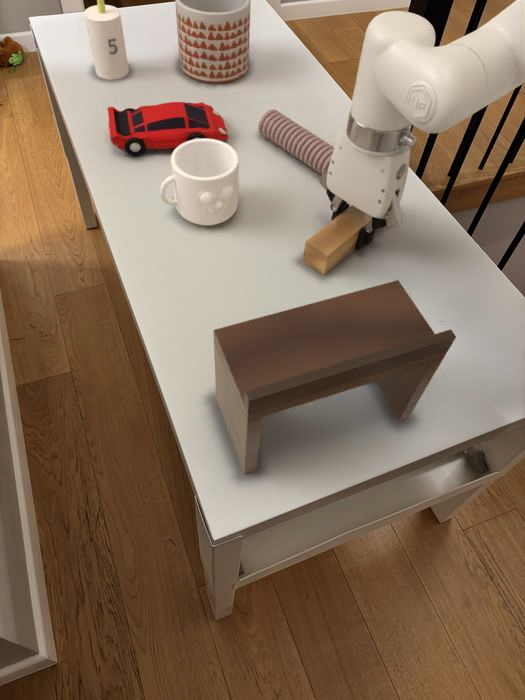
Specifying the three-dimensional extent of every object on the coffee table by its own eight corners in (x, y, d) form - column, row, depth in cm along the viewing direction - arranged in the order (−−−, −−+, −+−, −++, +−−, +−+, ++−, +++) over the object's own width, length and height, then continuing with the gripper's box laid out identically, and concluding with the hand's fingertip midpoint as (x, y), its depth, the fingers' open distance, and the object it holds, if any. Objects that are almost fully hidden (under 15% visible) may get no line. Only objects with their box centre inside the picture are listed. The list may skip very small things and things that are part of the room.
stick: (393, 215, 85) (400, 195, 82) (323, 275, 77) (327, 255, 74) (373, 203, 86) (379, 183, 83) (302, 261, 78) (305, 241, 75)
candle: (102, 83, 102) (85, -5, 90) (91, 66, 105) (73, -21, 93) (134, 76, 104) (121, -11, 92) (121, 60, 107) (108, -26, 95)
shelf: (408, 417, 64) (456, 336, 51) (244, 474, 59) (248, 400, 46) (370, 352, 70) (404, 263, 56) (215, 399, 65) (212, 313, 51)
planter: (198, 91, 102) (195, 19, 92) (168, 57, 109) (162, -14, 98) (260, 75, 107) (264, 5, 96) (228, 43, 113) (228, -26, 103)
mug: (175, 243, 79) (170, 193, 72) (152, 200, 84) (145, 149, 77) (249, 222, 82) (252, 173, 75) (223, 182, 88) (223, 132, 80)
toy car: (232, 147, 93) (233, 120, 89) (115, 163, 89) (110, 136, 85) (217, 113, 99) (217, 86, 94) (106, 126, 94) (101, 99, 90)
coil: (355, 153, 86) (277, 104, 93) (336, 162, 84) (258, 110, 91) (347, 178, 90) (273, 129, 97) (329, 187, 88) (254, 136, 95)
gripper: (451, 144, 65) (409, 252, 80) (342, 89, 71) (322, 199, 86) (418, 171, 62) (381, 279, 77) (306, 111, 68) (292, 222, 83)
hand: (350, 236), depth 81 cm, fingers closed on stick, 4 cm apart
